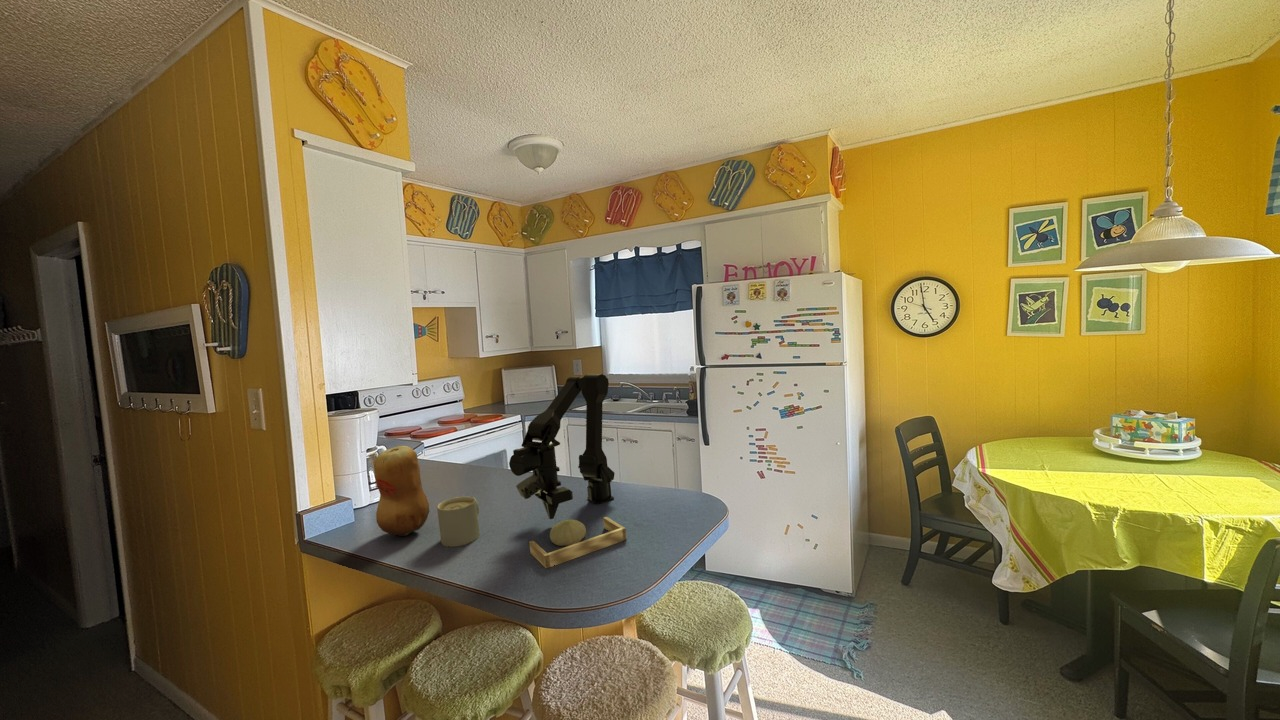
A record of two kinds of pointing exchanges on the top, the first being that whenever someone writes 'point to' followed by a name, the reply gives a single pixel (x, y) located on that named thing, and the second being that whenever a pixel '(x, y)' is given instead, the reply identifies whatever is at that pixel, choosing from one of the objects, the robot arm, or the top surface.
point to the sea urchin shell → (567, 532)
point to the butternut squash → (400, 491)
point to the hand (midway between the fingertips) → (551, 518)
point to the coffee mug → (458, 521)
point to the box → (580, 545)
